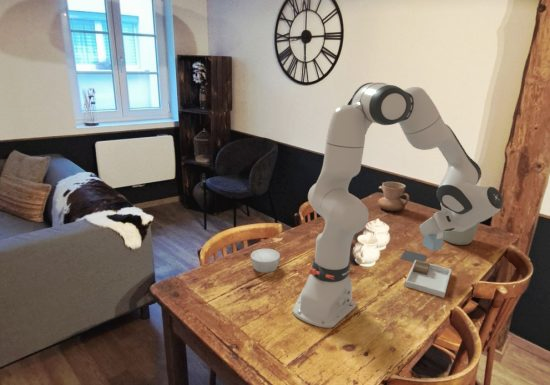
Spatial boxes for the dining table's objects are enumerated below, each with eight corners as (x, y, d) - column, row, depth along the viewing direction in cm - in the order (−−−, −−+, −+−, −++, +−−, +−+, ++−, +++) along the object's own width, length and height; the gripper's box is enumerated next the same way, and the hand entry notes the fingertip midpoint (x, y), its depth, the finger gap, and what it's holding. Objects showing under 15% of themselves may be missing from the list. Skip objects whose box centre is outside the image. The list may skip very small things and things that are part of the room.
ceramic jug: (370, 207, 208) (373, 183, 203) (384, 201, 217) (387, 178, 213) (399, 217, 196) (403, 191, 191) (412, 210, 205) (416, 186, 200)
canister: (426, 233, 177) (433, 191, 170) (457, 230, 182) (465, 189, 175) (453, 251, 161) (462, 205, 154) (487, 246, 165) (497, 202, 159)
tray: (443, 299, 127) (445, 292, 126) (404, 287, 133) (405, 281, 132) (450, 275, 142) (451, 269, 141) (414, 265, 148) (415, 259, 147)
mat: (423, 266, 148) (423, 264, 148) (399, 260, 152) (400, 258, 152) (426, 256, 155) (427, 255, 155) (404, 251, 159) (405, 250, 159)
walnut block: (426, 275, 140) (427, 269, 139) (412, 271, 143) (413, 265, 142) (428, 269, 144) (429, 263, 144) (415, 265, 147) (416, 260, 146)
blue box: (442, 249, 136) (446, 224, 133) (432, 251, 135) (437, 225, 132) (431, 243, 141) (436, 218, 138) (422, 245, 139) (426, 220, 136)
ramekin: (244, 266, 144) (244, 254, 142) (264, 257, 152) (265, 245, 150) (265, 278, 137) (265, 265, 135) (285, 267, 145) (285, 255, 143)
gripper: (477, 206, 130) (450, 221, 142) (432, 212, 123) (407, 228, 134) (486, 222, 127) (458, 236, 139) (440, 230, 120) (414, 244, 132)
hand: (433, 232), depth 137 cm, fingers closed on blue box, 4 cm apart
